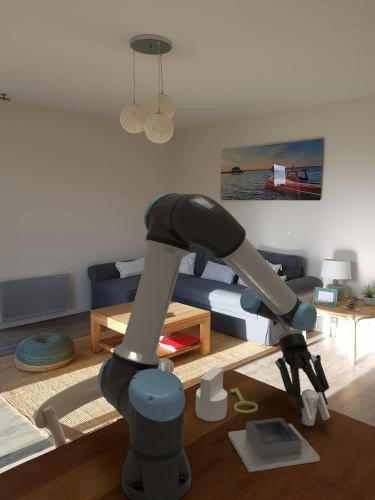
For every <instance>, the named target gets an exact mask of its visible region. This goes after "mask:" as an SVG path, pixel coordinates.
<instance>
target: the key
mask: <svg viewBox="0 0 375 500" xmlns="http://www.w3.org/2000/svg"><path fill="white" fill-rule="evenodd" d="M229 391H230V393H235V394H236V396H237V398H238V399H239V401H238V402H236V403H234V406H233V409H234V411H235V412H237V413H242V414H251V413H254V412H257V411H258V410H259V406H258V404H257V403H256V402H254V401H248V400H246V399H245V398H244V397H243V396H242V394H241V392H240V390H239V388H238V387H235V388H233V389H229ZM242 406H253V407H254V408H251V409H247V410H244V409H240V408H238V407H242Z"/></svg>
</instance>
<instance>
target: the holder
mask: <svg viewBox="0 0 375 500" xmlns="http://www.w3.org/2000/svg"><path fill="white" fill-rule="evenodd" d="M228 438H229V440H230V442H231V443H232V445H233V447H234V449H235V451H236V452H237V454H238V455H239V457H240V460H241V461H242V462H243V464H244V466H245V468H246V469H247V471H248V473H253V472H260V471H266V470H272V469H279V468H284V467H291V466H297V465H303V464H308V463H316V462H320V460H321V456H320V455H319V454H318V452H316V450H315V449H314V448H313V447H312V446H311V445H310V443H309V442H308V441H307V440H306V438H304V437H303V435H302V434H301V433H300V432H299V430H297V429H296V427H295V426H294V424H292V423H287V421H285V419H284V418H283V417H275V418H267V419H259V420H250V421H246V422H245V429H242V430H234V431H229V432H228Z"/></svg>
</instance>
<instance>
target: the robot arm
mask: <svg viewBox="0 0 375 500" xmlns="http://www.w3.org/2000/svg"><path fill="white" fill-rule="evenodd" d="M143 222H144V225H145V229H146V237H145V238H144V239H145V240H144V241H145V244H146V245H147V247H148V251H147V255H146V259H145V263H144V264H143V265H144V266H143V269H142V274H141V276H140V279H139V282H138V283H139V284H138V286H137V291H136V294H135V297H134V301H133V304H132V307H131V310H130V314H129V318H128V322H127V324H126V328H125V332H124V335H123V338H122V343H120V344H119V345H117V346H115V347H114V349H113V351H112V354H111V355H109V357H108V358H107V359H106V360H104V362H103V363H102V364H101V366H100V369H99V372H98V375H97V376H98V377H97V383H98V389H99V390H100V392H101V394H102V396H103V398H104V399H105V401H106V402H107V403H108V404H109V405H111V406H112V407H113V408H114V409H115V410H116V411H117V413H119V414H120V416H121V417H122V418H123V419H124V420H125V421H126V422H127V424H128V425H129V426H128V427H129V450H128V452H127V455H126V458H125V461H124V464H123V467H122V469H121V488H122V490H123V493H124V494H125V495H126V497H128V498H129V499H130V500H180V499H182V498H183V497H184V496H185V495H186V493H188V491H189V489H190V487H191V482H192V471H191V465H190V463H189V459H188V457H187V454H186V451H185V448H184V447H185V446H184V435H185V433H184V431H185V428H184V426H185V405H186V397H185V390H184V385H183V382H182V381H181V379H180V378H179V377H178V376H177V375H176V374H174V373H173V372H171V371H169V370H162V369H160V368H159V366H160V363H161V359H160V358H159V357H160V356H159V355H158V354H157V351H158V347H159V343H160V340H161V336H162V333H163V329H164V325H165V321H166V318H167V315H168V312H169V308H170V304H171V302H172V301H171V300H172V296H173V293H174V290H175V287H176V283H177V279H178V276H179V272H180V269H181V265H182V261H183V259H184V258H185V257H187V256H188V255H190V254H191V253H192V249H193V246H196V247H198V248H201V249H203V250H205V251H206V252H208V253H209V254H210V255H211V256H212V258H214V259H216V260H222V261H223V262H224V263H225V264H226V265H227V266H228V267H229V268H230V269H231V270H232V272H234V274H236V275H237V277H238V278H239V279H241V281H242V282H244V283H245V285H246V286H247V288H245V289H244V290H243V291H242V293H241V295H240V299H239V304H240V307H241V309H242V310H243V311H244V312H246V313H249V314H251V315H256V316H259V317H262V318H264V319H267V320H270V321H272V325H273V327H274V330H275V334H276V337H277V340H278V344H279V348H280V350H281V352H282V357H278V358H277V359H276V360H275V365H276V366H277V368H278V369H279V373H280V376H281V380H282V382H283V387H284V389H285V393H286V395H287V396H291V397H292V398H293V399H295V403H296V405H297V409H299V410H300V409H301V414H302V413H303V417H304V420H305V422H309V421H311V420H312V417H311V414H310V411H309V408H308V404H307V401H306V398H305V395H304V394H302V390H301V381H300V370H302V372H303V373H305V375H306V376H307V379H308V380H309V382H310V383H311V386H312V387H313V389H314V391H316V392H317V393H318V394H320V393H321V394H320V396H319V401H318V406H317V408H318V410H319V412H320V416H321V418H322V419H321V420H322V421H326V420H328V419H330V418H331V416H330V413H329V410H328V407H327V405H328V404H329V403H328V399H327V396H326V394H325V393H326V391H328V390H329V389H330V386H329V383H328V382H329V381H328V379H327V376H326V373H325V371H324V367H323V365H322V361H321V360H322V358H321V355H319V354H317V355H314V354H311V352H310V351H309V349H308V343H307V341H306V338H305V335H303V334H304V333H303V332H307V331H310V330H311V329H312V328H313V327H314V325H315V323H316V321H317V317H318V313H317V308H316V307H315V306H314V304H312V303H309V302H308V301H304V300H303V301H302V299H300V298H299V297H298V296H297V295H296V294H295V292H294V291H293V289H291V288H290V287H289V285H288V284H287V283H286V282H285V281H284V280H283V278H282V277H281V276H280V275H279V274H278V273H277V272H276V271H275V269H273V267H272V266H271V265H270V263H269V262H268V261H267V260H266V259H265V258H264V257H263V256H262V254H261V253H260V252H259V251H258V250H257V248H255V246H254V245H253V244H252V243H251V241H249V240H248V238H247V232H246V231H247V230H246V229H245V227H243V226H242V225H241V223H240V222H239V221H238V219H236V218H235V216H234V215H233V214H232V213H230V211H228V209H226V208H225V207H224V206H223V205H222V204H220V203H219V202H217V201H216V200H215V199H214V198H211V197H210V196H207V195H205V194H201V193H177V192H169V193H164V194H161V195H158V196H156V197H154V198H153V199H152V200H151V201H150V202H149V203H148V205H147V207H146V208H145V212H144V216H143ZM287 365H288V366H289V370H288V367H287ZM289 371H290V372H289ZM289 373H290V374H289ZM290 375H291V376H290Z"/></svg>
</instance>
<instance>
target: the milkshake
mask: <svg viewBox="0 0 375 500" xmlns="http://www.w3.org/2000/svg"><path fill="white" fill-rule="evenodd" d="M301 394H304V395H305V398H306V401H307V404H308V408H309V411H310V414H311V417H312V420H311V421H309V422H305V420H304V417H303V413H302V412H301V423H302V424H303V425H305V426H309V427H311V426H314V425H315V421H316V418H317V417H316V416H317V412H318V411H317V409H318V401H319V396H320V394H321V393H320V394H318V393H317V392H316V391H315V389H314V390H313V389H311V388H306V389H304V390H303V391H301Z"/></svg>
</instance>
